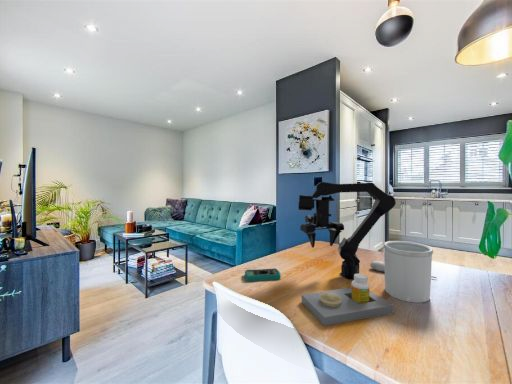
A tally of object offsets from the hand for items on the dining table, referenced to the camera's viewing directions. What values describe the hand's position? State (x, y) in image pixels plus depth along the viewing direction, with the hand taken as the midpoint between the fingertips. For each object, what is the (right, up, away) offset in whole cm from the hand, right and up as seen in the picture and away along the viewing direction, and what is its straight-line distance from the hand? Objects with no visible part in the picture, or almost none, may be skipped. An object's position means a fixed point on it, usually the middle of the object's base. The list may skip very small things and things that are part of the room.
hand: (322, 246), depth 104 cm
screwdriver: (+35, -13, +1) cm, 37 cm away
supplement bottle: (+5, -13, -26) cm, 29 cm away
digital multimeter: (-26, -13, -3) cm, 29 cm away
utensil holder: (+25, -13, -18) cm, 34 cm away
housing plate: (0, -13, -27) cm, 30 cm away
